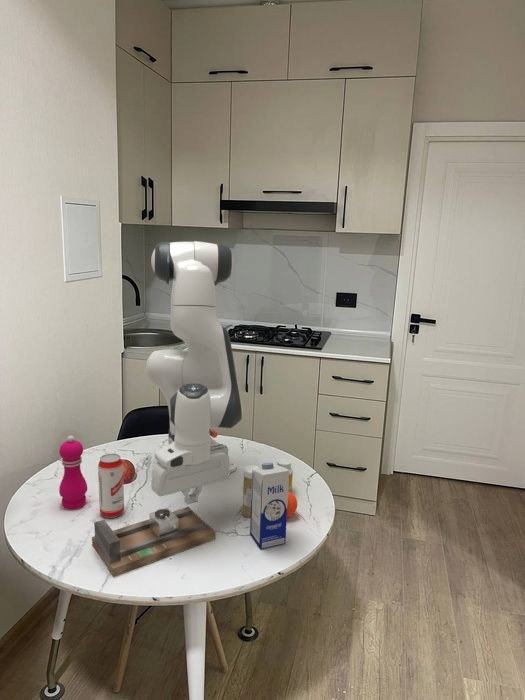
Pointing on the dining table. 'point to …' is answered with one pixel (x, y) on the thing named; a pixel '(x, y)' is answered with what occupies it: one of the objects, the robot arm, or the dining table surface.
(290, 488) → the supplement bottle
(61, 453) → the pepper mill
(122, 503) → the beer can
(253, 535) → the milk carton
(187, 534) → the gauge base
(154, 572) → the dining table surface
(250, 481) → the sprinkles bottle
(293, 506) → the clementine
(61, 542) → the dining table surface
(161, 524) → the gauge carriage
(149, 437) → the dining table surface
